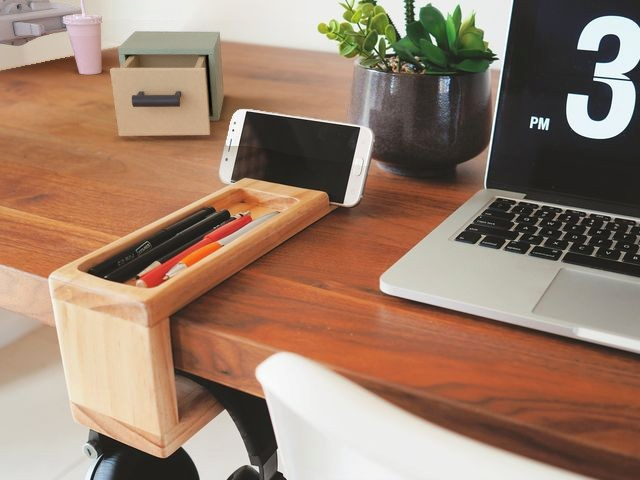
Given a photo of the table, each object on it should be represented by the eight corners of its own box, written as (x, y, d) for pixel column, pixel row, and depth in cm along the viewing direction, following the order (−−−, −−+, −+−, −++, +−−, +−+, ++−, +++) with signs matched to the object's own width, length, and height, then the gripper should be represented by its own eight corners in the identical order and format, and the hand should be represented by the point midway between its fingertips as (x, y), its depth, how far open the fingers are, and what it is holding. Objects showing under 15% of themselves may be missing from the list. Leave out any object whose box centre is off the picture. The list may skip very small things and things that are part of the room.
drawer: (207, 145, 89) (202, 77, 85) (112, 146, 88) (102, 77, 84) (216, 108, 105) (211, 50, 101) (135, 109, 104) (128, 49, 100)
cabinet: (219, 122, 102) (213, 48, 97) (127, 123, 100) (117, 48, 96) (224, 97, 115) (219, 31, 110) (142, 98, 113) (134, 31, 109)
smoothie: (87, 78, 124) (74, -8, 118) (63, 73, 127) (49, -11, 121) (117, 73, 129) (106, -11, 123) (93, 68, 132) (82, -14, 126)
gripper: (-47, 7, 122) (10, 13, 117) (50, -3, 139) (104, 2, 133) (-38, 45, 125) (17, 53, 120) (56, 31, 142) (108, 38, 136)
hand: (64, 26), depth 127 cm, fingers open, 8 cm apart
